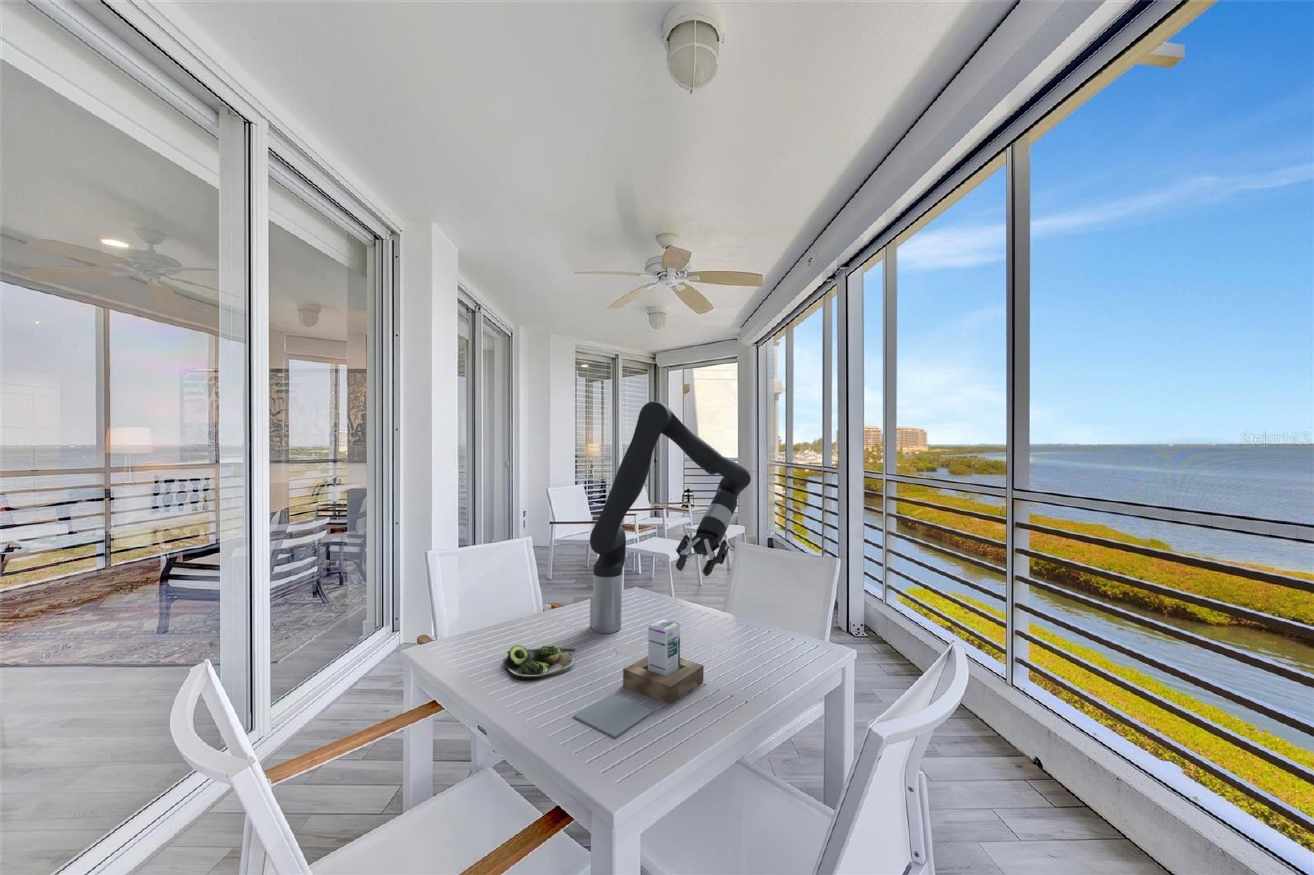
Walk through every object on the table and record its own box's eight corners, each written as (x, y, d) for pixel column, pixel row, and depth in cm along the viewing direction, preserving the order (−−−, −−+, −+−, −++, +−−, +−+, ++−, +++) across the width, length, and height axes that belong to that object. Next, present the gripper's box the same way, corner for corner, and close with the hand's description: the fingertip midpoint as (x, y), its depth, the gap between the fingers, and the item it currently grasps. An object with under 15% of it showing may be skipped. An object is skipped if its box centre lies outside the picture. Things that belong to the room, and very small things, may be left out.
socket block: (622, 685, 115) (623, 668, 115) (658, 665, 126) (658, 650, 126) (670, 705, 107) (670, 686, 107) (703, 682, 118) (703, 665, 118)
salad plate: (564, 645, 139) (564, 629, 140) (590, 669, 125) (591, 651, 125) (496, 660, 129) (497, 642, 129) (516, 687, 114) (517, 668, 114)
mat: (573, 717, 101) (573, 715, 101) (611, 695, 110) (611, 693, 110) (615, 738, 94) (615, 736, 94) (652, 713, 103) (652, 711, 103)
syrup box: (666, 692, 112) (667, 629, 113) (646, 684, 116) (647, 624, 116) (680, 683, 117) (681, 623, 117) (660, 676, 120) (661, 617, 121)
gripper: (688, 512, 139) (664, 559, 129) (732, 517, 130) (708, 567, 120) (699, 529, 142) (675, 575, 133) (741, 534, 134) (719, 584, 124)
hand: (691, 571), depth 127 cm, fingers open, 8 cm apart
